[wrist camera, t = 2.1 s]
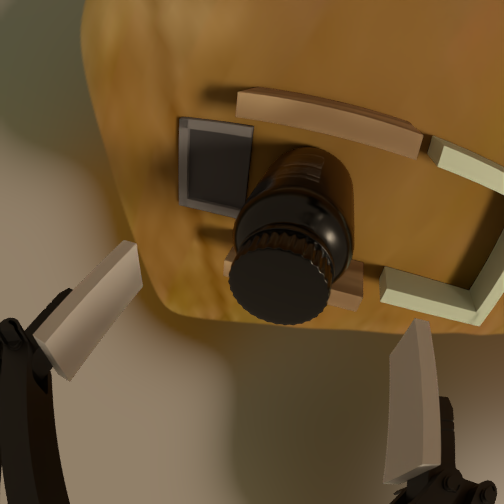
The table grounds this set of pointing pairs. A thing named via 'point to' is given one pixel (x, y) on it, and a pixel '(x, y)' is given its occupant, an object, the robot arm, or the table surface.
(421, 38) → the table surface
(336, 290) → the channel
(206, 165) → the mat
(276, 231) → the supplement bottle
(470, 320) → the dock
